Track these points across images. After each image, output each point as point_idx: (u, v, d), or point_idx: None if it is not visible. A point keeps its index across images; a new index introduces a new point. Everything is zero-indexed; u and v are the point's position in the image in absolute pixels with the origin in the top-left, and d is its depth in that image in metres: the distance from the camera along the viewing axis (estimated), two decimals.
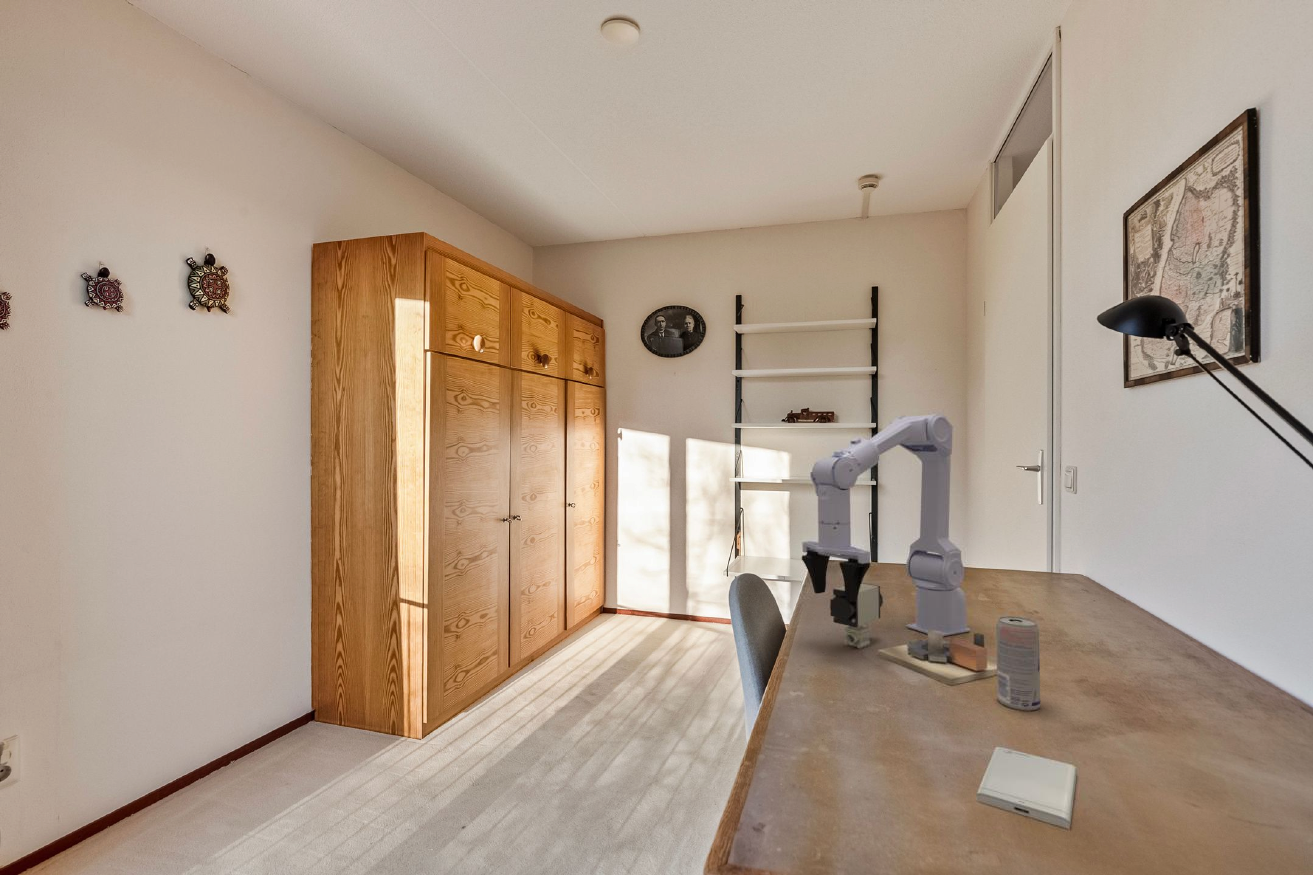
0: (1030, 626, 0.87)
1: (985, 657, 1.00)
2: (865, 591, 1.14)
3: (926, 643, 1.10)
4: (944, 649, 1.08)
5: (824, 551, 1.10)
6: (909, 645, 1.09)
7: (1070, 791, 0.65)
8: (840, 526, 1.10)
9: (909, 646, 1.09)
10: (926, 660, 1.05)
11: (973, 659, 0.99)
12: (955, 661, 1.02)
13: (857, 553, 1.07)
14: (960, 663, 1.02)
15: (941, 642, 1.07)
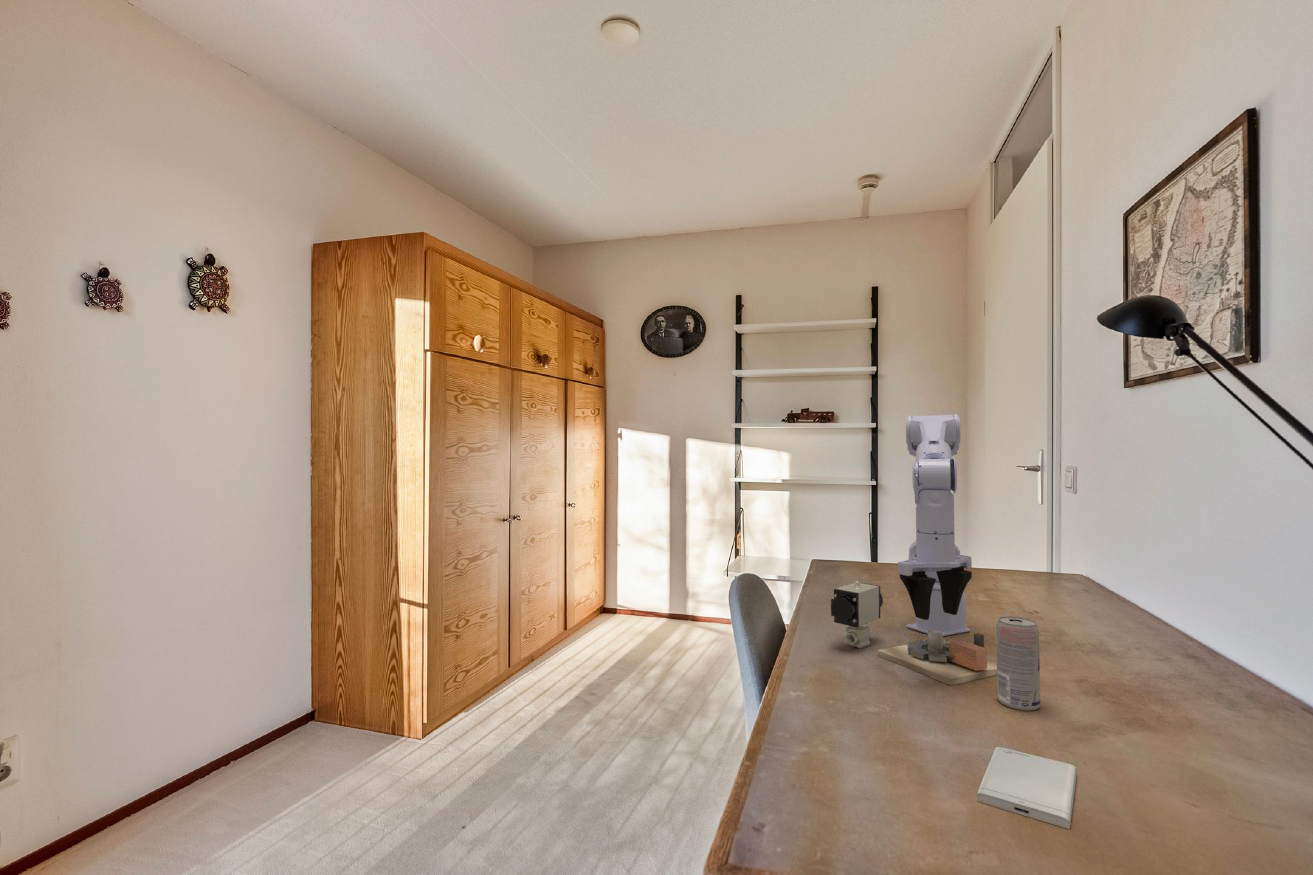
0: (1030, 626, 0.87)
1: (985, 657, 1.00)
2: (866, 591, 1.14)
3: (926, 643, 1.10)
4: (944, 649, 1.08)
5: None
6: (909, 645, 1.09)
7: (1069, 790, 0.65)
8: None
9: (909, 646, 1.09)
10: (926, 660, 1.05)
11: (973, 659, 0.99)
12: (955, 661, 1.02)
13: (968, 558, 1.02)
14: (960, 663, 1.02)
15: (941, 642, 1.07)
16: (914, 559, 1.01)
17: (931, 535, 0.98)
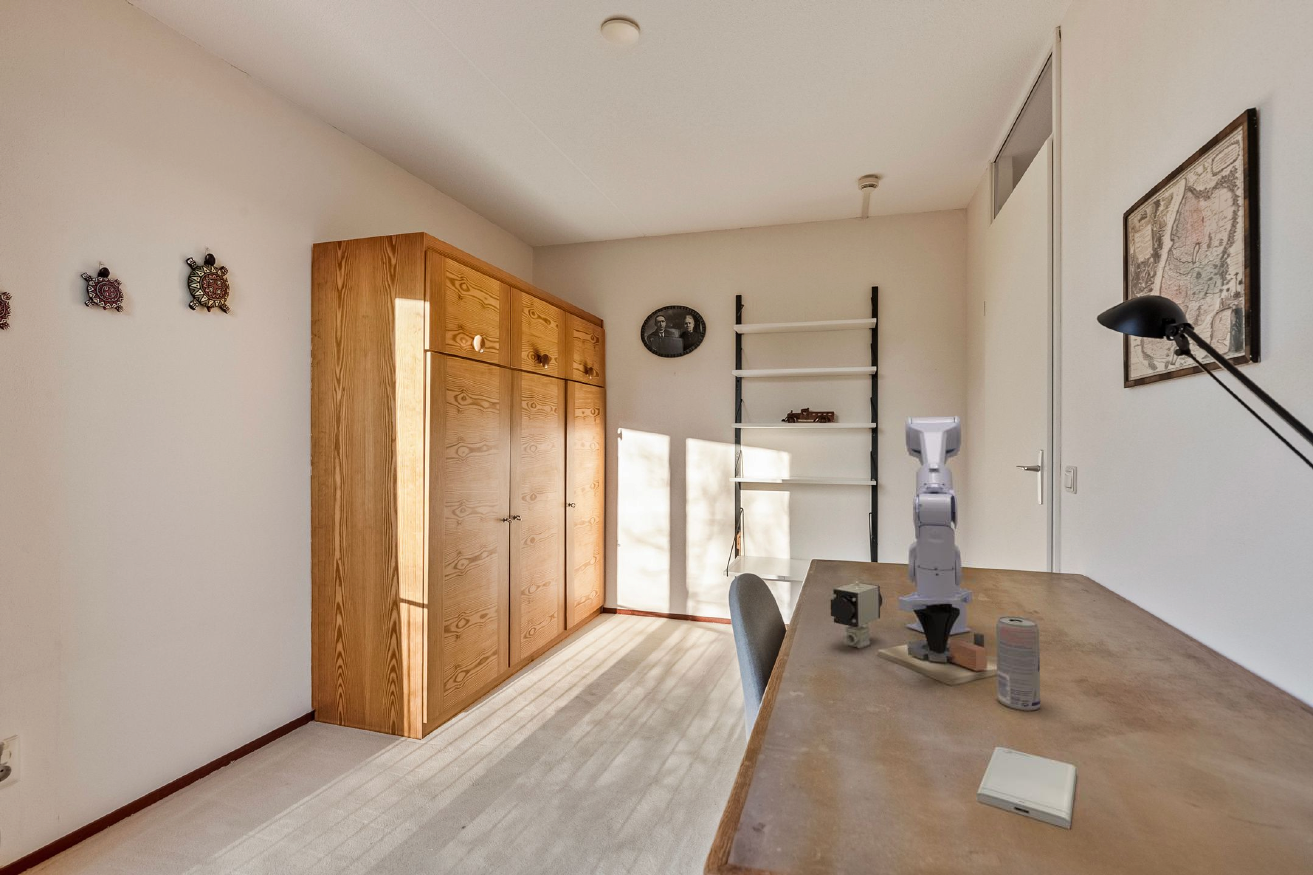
0: (1030, 626, 0.87)
1: (985, 657, 1.00)
2: (865, 591, 1.14)
3: (926, 643, 1.10)
4: None
5: None
6: (909, 645, 1.09)
7: (1069, 791, 0.65)
8: None
9: (909, 646, 1.09)
10: (926, 660, 1.05)
11: (973, 659, 0.99)
12: (955, 661, 1.02)
13: (968, 593, 1.02)
14: (960, 663, 1.02)
15: None
16: (914, 594, 1.01)
17: (932, 571, 0.98)
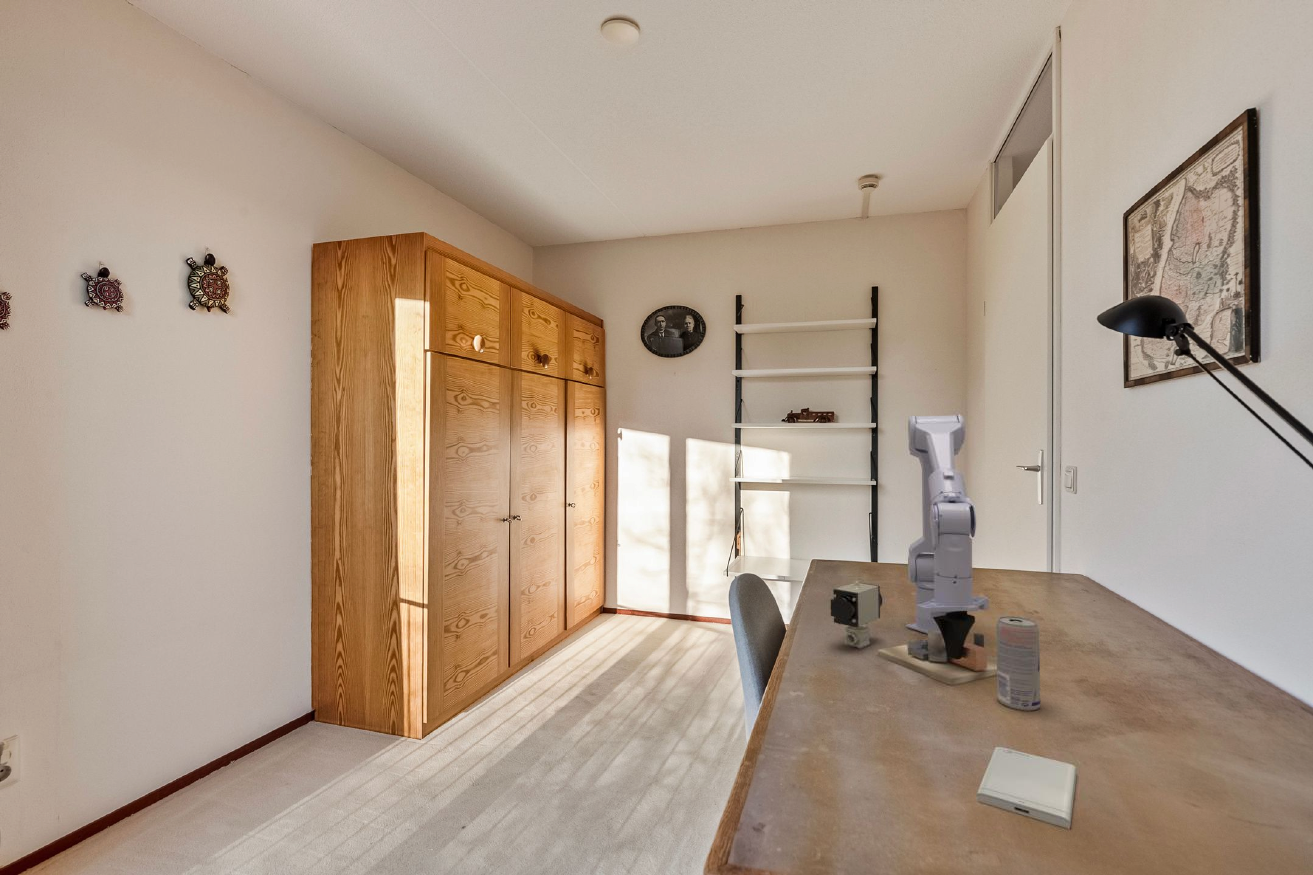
0: (1030, 626, 0.87)
1: (985, 657, 1.00)
2: (865, 591, 1.14)
3: (926, 643, 1.10)
4: (944, 649, 1.08)
5: None
6: (909, 645, 1.09)
7: (1070, 790, 0.65)
8: None
9: (909, 646, 1.09)
10: (926, 660, 1.05)
11: (973, 659, 0.99)
12: (955, 661, 1.02)
13: (985, 600, 1.04)
14: (960, 663, 1.02)
15: (941, 642, 1.07)
16: (932, 601, 1.03)
17: (949, 579, 1.00)
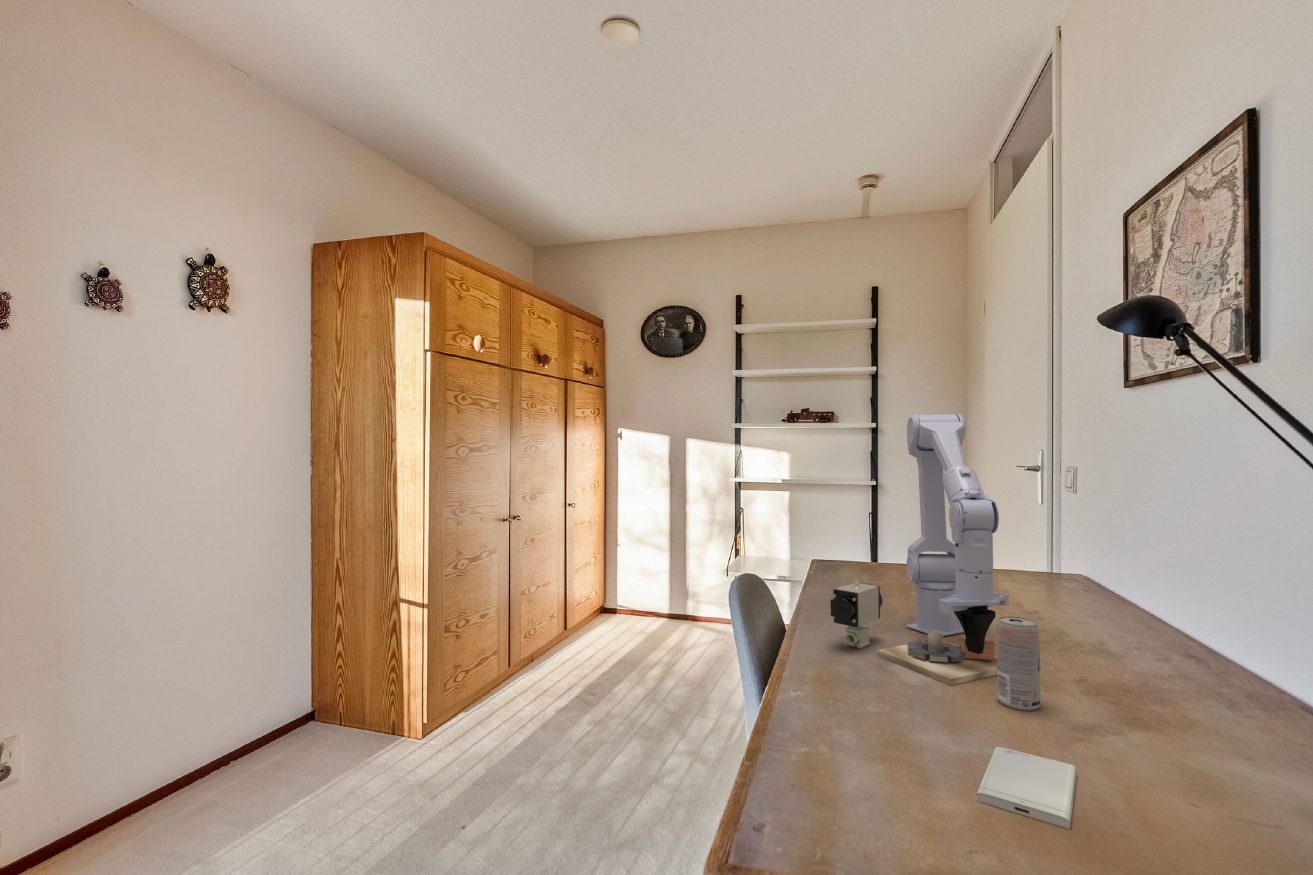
0: (1030, 626, 0.87)
1: None
2: (865, 591, 1.14)
3: (918, 645, 1.09)
4: None
5: None
6: (917, 651, 1.06)
7: (1070, 790, 0.65)
8: None
9: (920, 652, 1.05)
10: (926, 660, 1.05)
11: (991, 649, 1.04)
12: (969, 656, 1.05)
13: (1005, 596, 1.05)
14: (975, 656, 1.05)
15: (941, 642, 1.07)
16: (953, 596, 1.04)
17: (971, 574, 1.02)
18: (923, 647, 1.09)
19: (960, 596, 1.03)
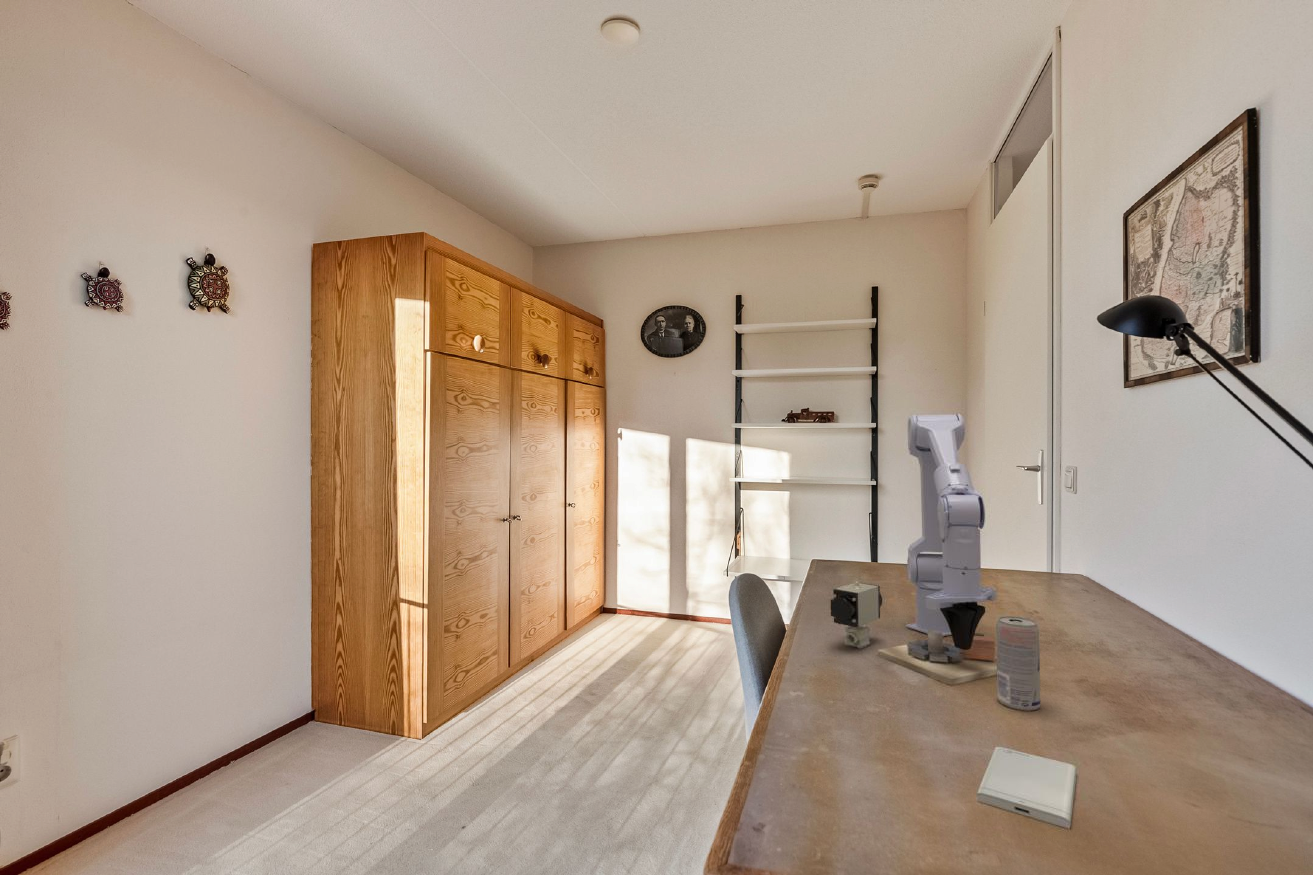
0: (1030, 626, 0.87)
1: None
2: (865, 591, 1.14)
3: (918, 645, 1.09)
4: None
5: None
6: (917, 651, 1.06)
7: (1070, 790, 0.65)
8: None
9: (920, 652, 1.05)
10: (926, 660, 1.05)
11: (991, 650, 1.04)
12: (969, 656, 1.05)
13: (993, 591, 1.04)
14: (975, 656, 1.04)
15: (941, 642, 1.07)
16: (941, 592, 1.03)
17: (958, 570, 1.01)
18: (923, 647, 1.09)
19: (947, 592, 1.02)
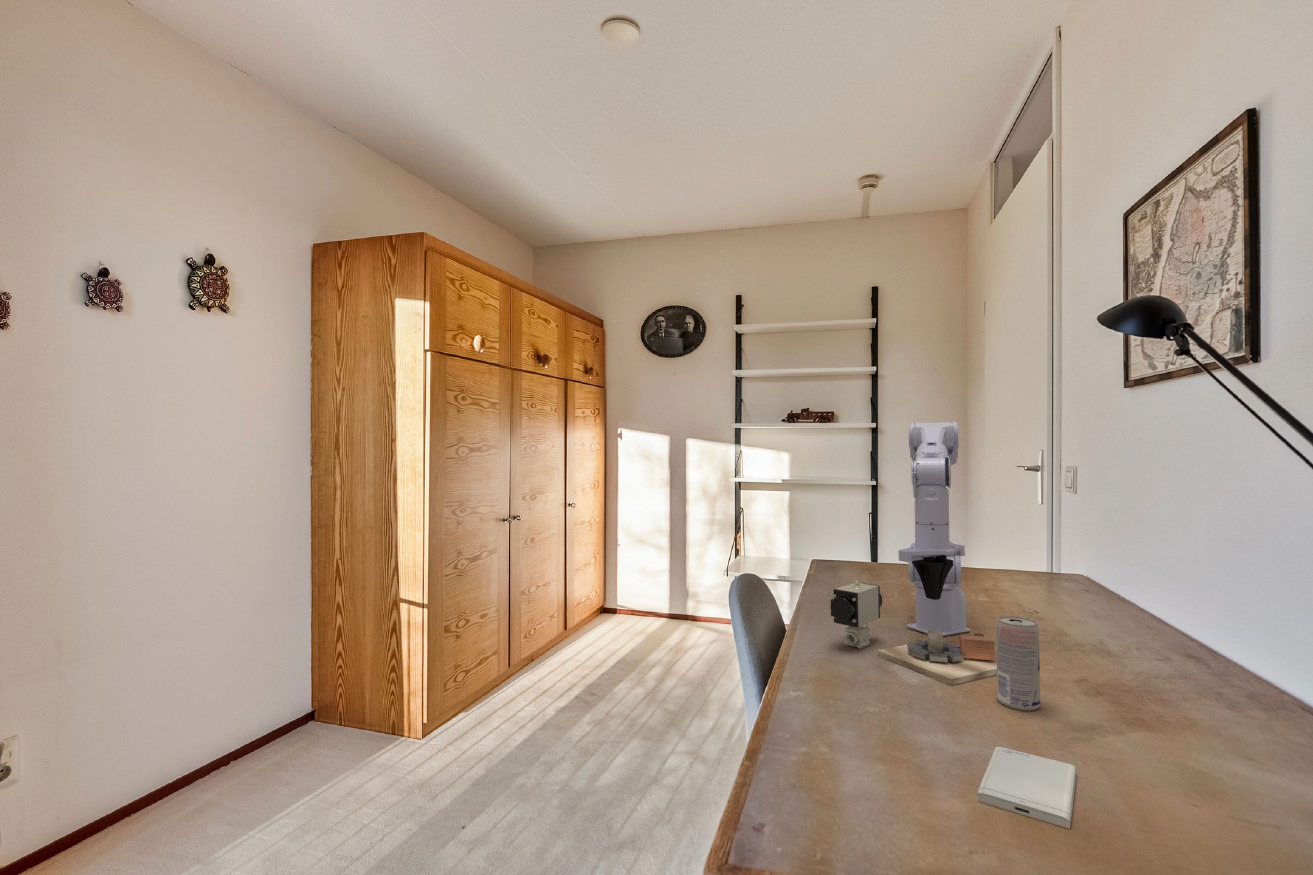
0: (1030, 626, 0.87)
1: None
2: (865, 591, 1.14)
3: (918, 645, 1.09)
4: None
5: None
6: (917, 651, 1.06)
7: (1070, 790, 0.65)
8: None
9: (920, 652, 1.05)
10: (926, 660, 1.05)
11: (991, 650, 1.04)
12: (969, 656, 1.05)
13: (961, 547, 1.14)
14: (975, 656, 1.04)
15: (941, 642, 1.07)
16: (913, 548, 1.13)
17: (928, 526, 1.10)
18: (923, 647, 1.09)
19: (918, 547, 1.11)
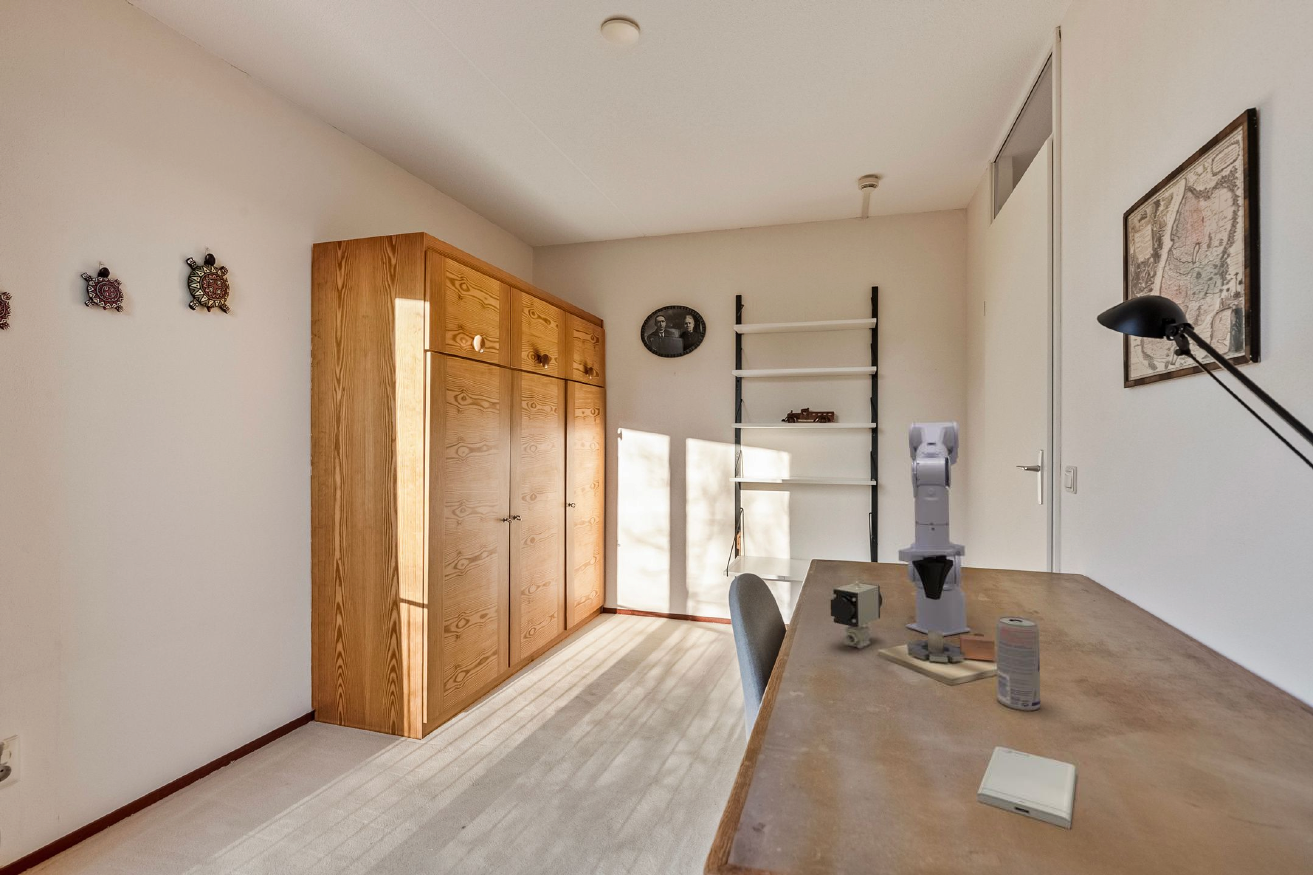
0: (1030, 626, 0.87)
1: None
2: (865, 591, 1.14)
3: (918, 645, 1.09)
4: None
5: None
6: (917, 651, 1.06)
7: (1069, 790, 0.65)
8: None
9: (920, 652, 1.05)
10: (926, 660, 1.05)
11: (991, 650, 1.04)
12: (969, 656, 1.05)
13: (961, 547, 1.14)
14: (975, 656, 1.04)
15: (941, 642, 1.07)
16: (913, 548, 1.13)
17: (928, 526, 1.10)
18: (923, 647, 1.09)
19: (918, 547, 1.11)
